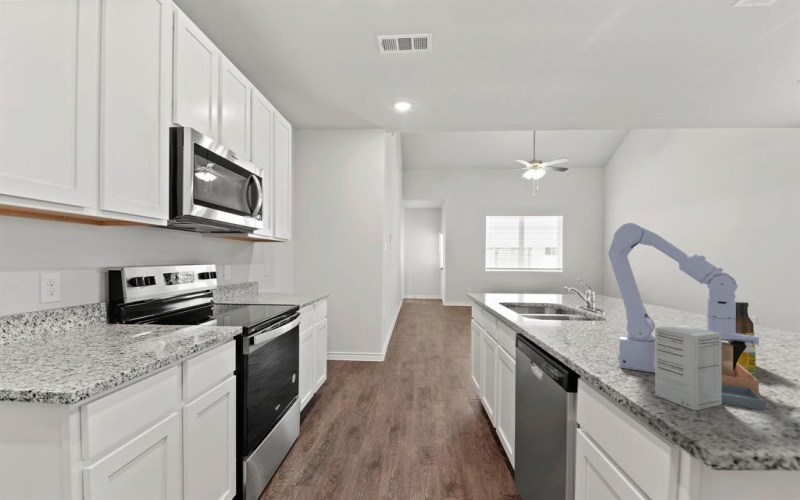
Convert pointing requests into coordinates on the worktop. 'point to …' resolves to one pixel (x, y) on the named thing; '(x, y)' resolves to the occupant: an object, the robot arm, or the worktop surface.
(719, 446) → the worktop surface
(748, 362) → the supplement bottle
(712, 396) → the supplement box
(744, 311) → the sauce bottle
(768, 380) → the worktop surface
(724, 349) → the maple peg
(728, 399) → the slate tray
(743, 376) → the peach storage tray
